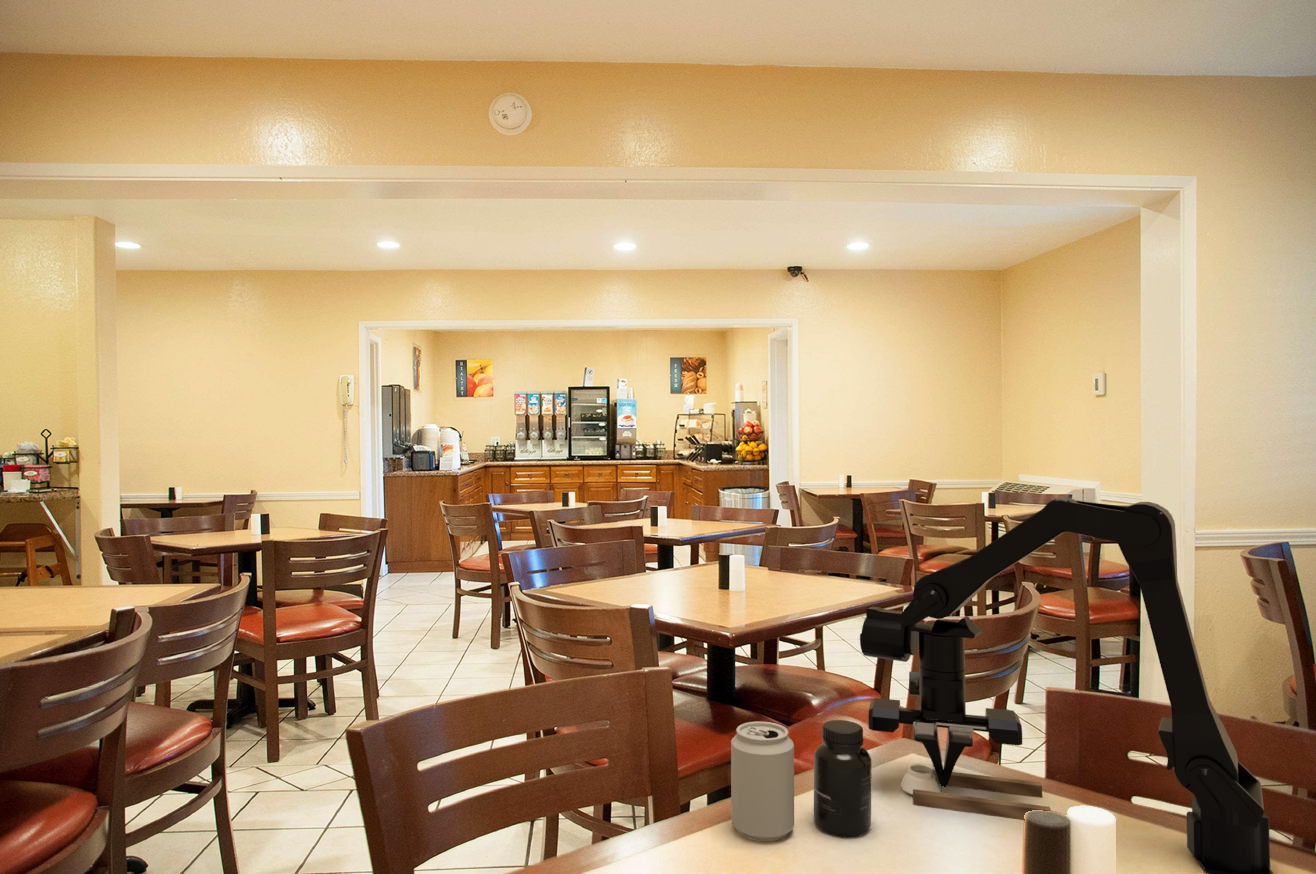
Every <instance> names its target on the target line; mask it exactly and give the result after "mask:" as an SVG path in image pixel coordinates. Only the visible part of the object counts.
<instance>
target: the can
mask: <svg viewBox="0 0 1316 874" xmlns="http://www.w3.org/2000/svg"><path fill="white" fill-rule="evenodd" d="M735 730H736V734H735V735H734V737H732V739H731V740H730V745H731V746H730V749H731V750H730V751H731V752H730V771H731V772H730V774H731V775H730V781H731V784H730V788H731V789H730V791H731V793H730V796H731V797H730V798H731V799H730V800H731V801H730V804H731V807H730V808H731V812H730V813H731V814H730V817H731V818H730V819H731V824H732V825H733V827H734V829H736V830H737V831H738V833H740V835H742V836H744V837H745V838H747V839H750V840H752V841H759V842H772V841H779V840H782V839H783V838H785V837H786V836H787V834H788V833H790V832H791V831H792V830H793V829H794V826H795V744H794V742H793V740H792V739H791V738H790V737H789V730H788V728H786V727H785V726H784V725H780V724H779V723H773V722H769V721H749V722H744V723H742V724H740V725H738V726H737V728H736V729H735Z"/></svg>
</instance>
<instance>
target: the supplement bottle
mask: <svg viewBox="0 0 1316 874" xmlns="http://www.w3.org/2000/svg"><path fill="white" fill-rule="evenodd" d="M821 741H822V742H823V743H821V744H819V745H818V746H817V747H816V749H815V751H814V755H813V821H814V823H815V825H816V826H817V828H819V829H820V830H821V831H822V832H824V833H825V834H828V835H831V836H834V837H839V838H845V839H846V838H847V839H849V838H851V839H852V838H857V837H862V836H864V835H866V834H867V833H868V832H869V831H870V829H871V826H872V758H871V755H870V753H869V752H868V751H867V749H866V748H865V747H863V745H864V728H863V727H862V725H860V724H859V723H857V722H854V721H852V720H851V721H850V720H843V719H832V720H828V721H825V722H824V723H823V724H822V735H821Z"/></svg>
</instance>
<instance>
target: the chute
mask: <svg viewBox="0 0 1316 874" xmlns="http://www.w3.org/2000/svg"><path fill="white" fill-rule="evenodd" d="M931 769H932V770H933V774H934V775H935V776H936V778H937V780H938V777H937V774H936V771H935V769H934V768H931ZM938 782H939V780H938ZM939 784H940V783H939ZM954 786H955V787H956V788H962V787H963V788H964V789H970V788H972V789H971V790H978V789H981V790H980V791H986V790H987V792H995V793H1003V794H1004V793H1005V794H1010V795H1019V796H1028V797H1036V798H1043V784H1042V782H1041V781H1033V780H1026V779H1025V780H1023V779H1017V778H1016V779H1015V778H1009V777H1008V778H1006V777H1000V776H999V777H998V776H990V775H983V774H976V773H975V774H974V773H973V774H972V773H966V772H956V771H952V774H951V777H950V779H949V782H948V785H947V787H954ZM912 805H913V806H918V807H919V806H920V807H925V808H935V809H942V810H948V811H957V812H963V813H964V812H965V813H972V814H977V815H979V814H980V815H986V816H993V817H1002V818H1009V819H1017V820H1023V821H1024V815H1025V813H1026V812H1028V811H1032V810H1043V811H1051V812H1052V810H1051V807H1050V806H1047V805H1040V804H1039V805H1038V804H1033V803H1025V802H1018V801H1017V802H1015V801H1007V800H1002V799H1001V800H1000V799H993V798H983V797H977V796H971V795H970V796H968V795H960V794H953V793H947V792H945V793H944V792H941V793H939V792H931V791H923V790H915V789H913V795H912Z"/></svg>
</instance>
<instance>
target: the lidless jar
mask: <svg viewBox="0 0 1316 874" xmlns="http://www.w3.org/2000/svg"><path fill="white" fill-rule="evenodd" d="M932 769H933V768H931V767H929V766H927V765H923V764H912V765H910V766H909V767H908V771H906V772H905V774H904V776H903V778H902V780H901V782H900V783H901V784H900V785H901V787H900V788H901V789H902V790H903V791H904V792H906V793H907V794H910V795H911V796H913V789H915V790H923V791H931V792H939V793H942V787H941V785H940V784H939V782H938V780H937V778H936V776H935V775H934V774H933V770H934V769H933V770H932Z"/></svg>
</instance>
